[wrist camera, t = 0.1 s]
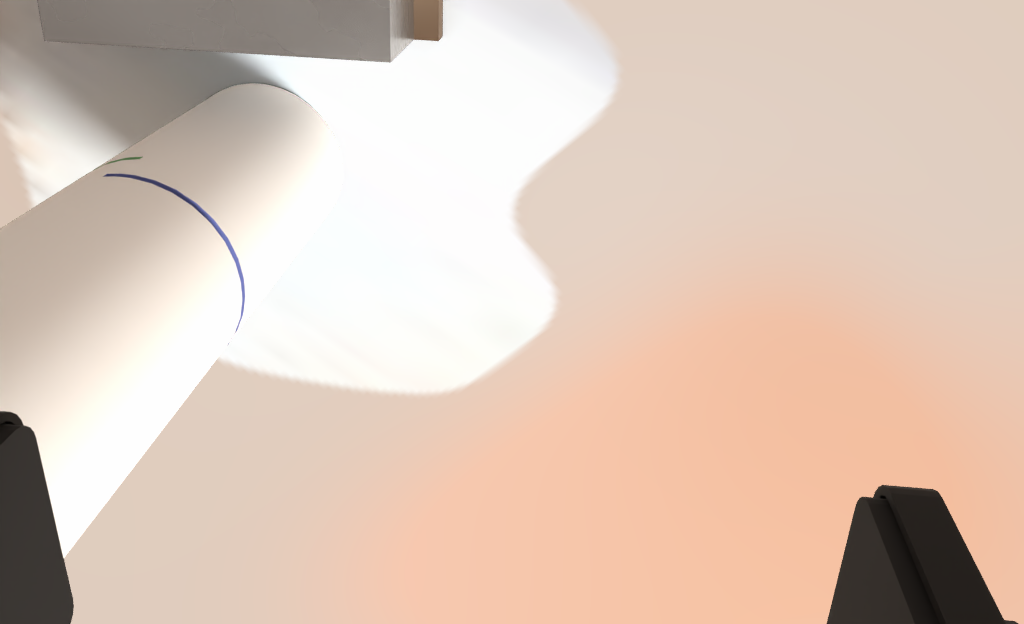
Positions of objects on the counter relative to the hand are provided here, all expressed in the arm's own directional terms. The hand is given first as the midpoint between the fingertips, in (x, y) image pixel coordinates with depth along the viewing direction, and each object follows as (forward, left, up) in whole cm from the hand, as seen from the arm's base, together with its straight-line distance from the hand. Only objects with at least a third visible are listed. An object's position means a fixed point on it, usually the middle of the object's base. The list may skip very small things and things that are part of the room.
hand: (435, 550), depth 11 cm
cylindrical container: (+6, -13, -31) cm, 35 cm away
